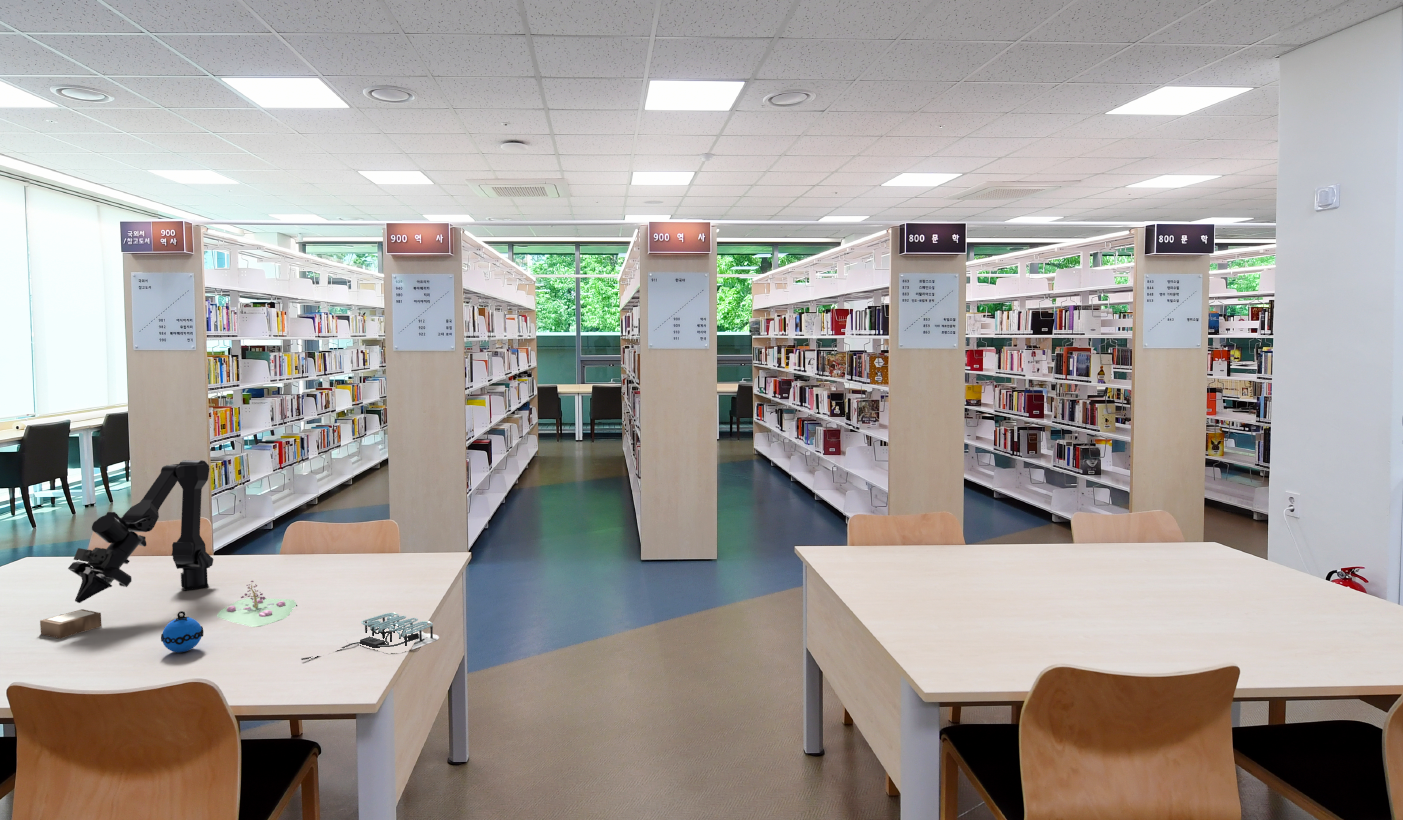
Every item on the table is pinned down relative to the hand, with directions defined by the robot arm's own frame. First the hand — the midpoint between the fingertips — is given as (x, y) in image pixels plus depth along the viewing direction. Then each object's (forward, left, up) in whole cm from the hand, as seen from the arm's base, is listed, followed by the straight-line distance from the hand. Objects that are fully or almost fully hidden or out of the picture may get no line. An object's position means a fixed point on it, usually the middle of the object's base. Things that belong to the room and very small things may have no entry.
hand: (77, 602), depth 214 cm
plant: (-41, +14, -8) cm, 44 cm away
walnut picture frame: (-3, -2, -5) cm, 6 cm away
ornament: (-21, +36, -7) cm, 42 cm away
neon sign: (-58, +60, -8) cm, 84 cm away
